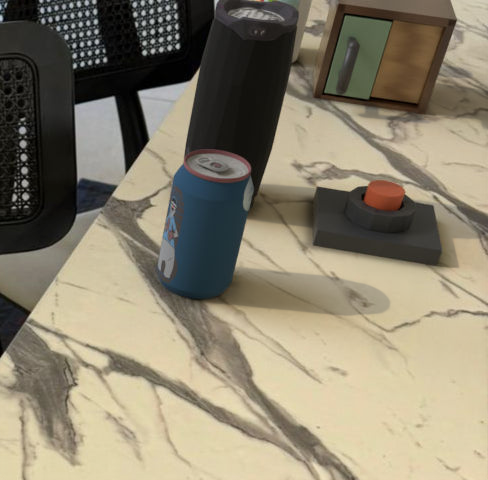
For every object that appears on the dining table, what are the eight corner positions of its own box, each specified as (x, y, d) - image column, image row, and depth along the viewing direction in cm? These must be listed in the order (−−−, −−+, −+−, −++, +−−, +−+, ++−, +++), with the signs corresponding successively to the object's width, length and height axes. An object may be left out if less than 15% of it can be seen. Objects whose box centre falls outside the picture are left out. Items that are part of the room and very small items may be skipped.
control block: (426, 224, 108) (439, 188, 105) (434, 270, 100) (449, 233, 98) (311, 205, 109) (321, 169, 106) (311, 249, 102) (322, 213, 99)
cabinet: (417, 90, 137) (449, -5, 129) (423, 118, 129) (457, 19, 121) (312, 74, 138) (336, -21, 131) (311, 101, 131) (338, 3, 123)
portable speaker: (253, 187, 111) (300, -3, 98) (258, 228, 104) (309, 30, 91) (175, 177, 112) (211, -13, 99) (174, 217, 105) (213, 18, 92)
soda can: (242, 286, 95) (273, 164, 87) (204, 315, 91) (232, 190, 83) (180, 259, 98) (204, 138, 90) (139, 285, 94) (161, 162, 86)
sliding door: (368, 97, 130) (392, 20, 124) (370, 113, 126) (394, 34, 120) (324, 91, 131) (345, 14, 124) (324, 106, 127) (346, 28, 120)
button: (398, 199, 103) (404, 183, 102) (400, 215, 101) (406, 199, 100) (362, 193, 104) (367, 177, 103) (363, 209, 101) (369, 193, 100)
